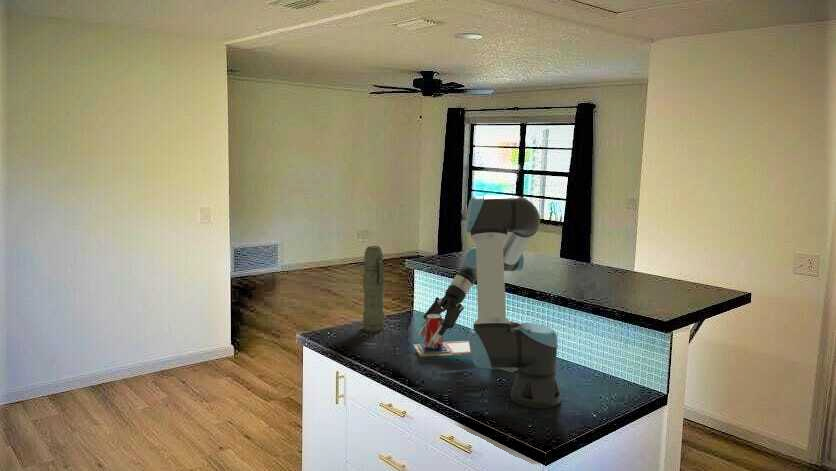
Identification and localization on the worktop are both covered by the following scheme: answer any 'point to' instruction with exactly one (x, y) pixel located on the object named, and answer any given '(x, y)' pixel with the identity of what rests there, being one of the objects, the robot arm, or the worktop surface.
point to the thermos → (373, 289)
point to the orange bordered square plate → (458, 347)
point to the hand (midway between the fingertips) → (426, 338)
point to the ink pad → (427, 350)
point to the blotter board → (432, 354)
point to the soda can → (433, 330)
